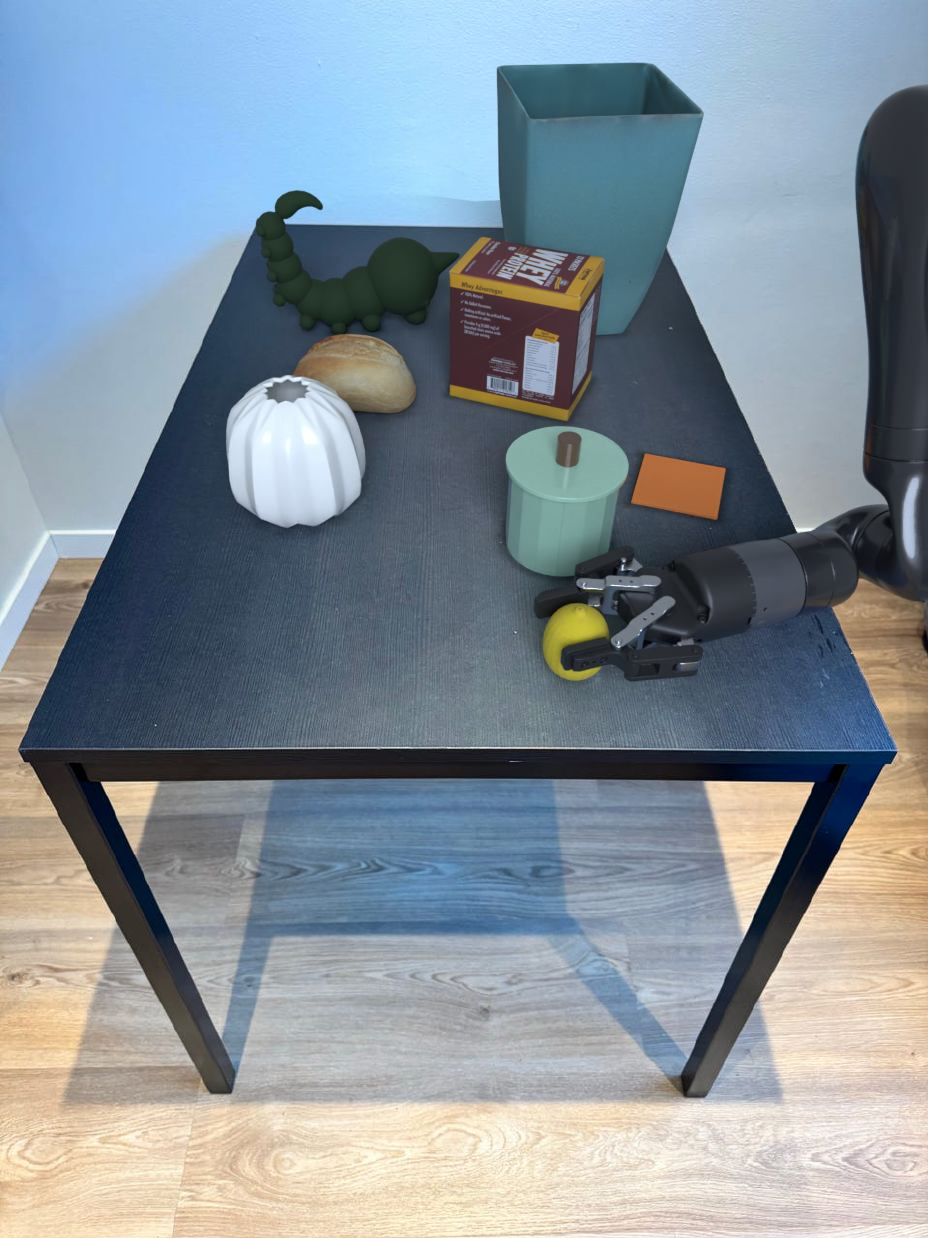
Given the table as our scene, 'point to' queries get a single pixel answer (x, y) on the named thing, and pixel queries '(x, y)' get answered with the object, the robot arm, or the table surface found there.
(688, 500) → the orange square coaster
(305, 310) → the toy figurine
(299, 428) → the vase
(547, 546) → the pot
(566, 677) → the lemon
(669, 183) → the flower pot
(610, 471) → the pot lid
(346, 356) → the bread roll
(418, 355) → the table surface
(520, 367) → the supplement box
